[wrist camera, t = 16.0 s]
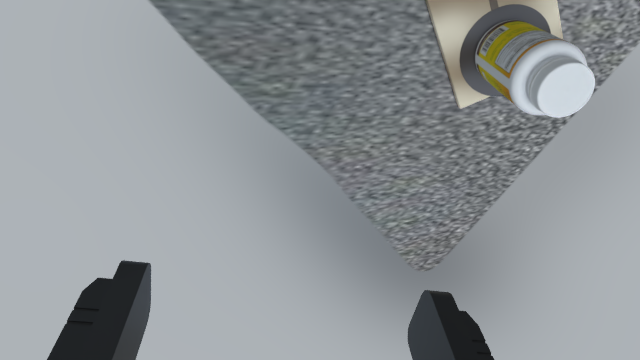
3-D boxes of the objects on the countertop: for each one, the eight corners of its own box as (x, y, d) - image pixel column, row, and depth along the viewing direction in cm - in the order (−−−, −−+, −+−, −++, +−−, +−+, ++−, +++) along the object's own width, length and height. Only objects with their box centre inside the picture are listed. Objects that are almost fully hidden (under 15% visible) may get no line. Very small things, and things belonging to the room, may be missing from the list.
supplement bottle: (529, 79, 42) (595, 126, 33) (468, 83, 41) (518, 131, 33) (542, 15, 39) (618, 48, 30) (477, 19, 38) (534, 53, 30)
